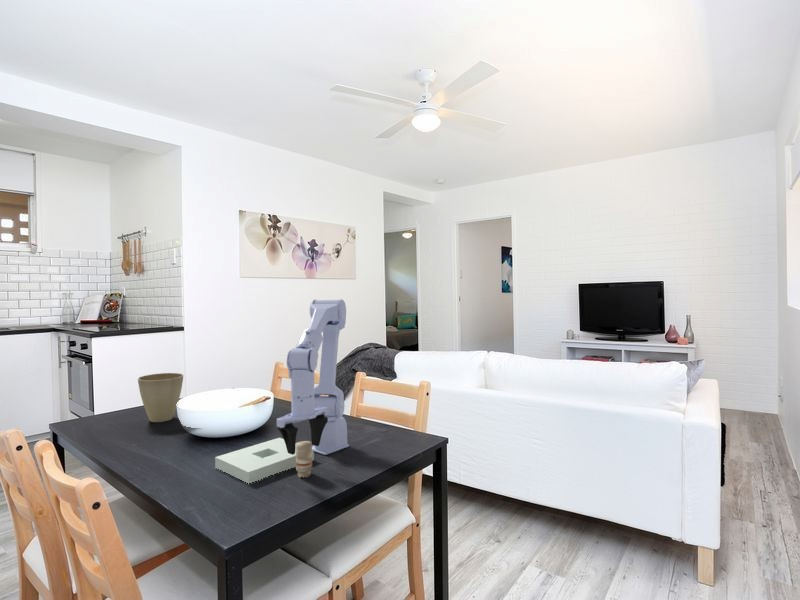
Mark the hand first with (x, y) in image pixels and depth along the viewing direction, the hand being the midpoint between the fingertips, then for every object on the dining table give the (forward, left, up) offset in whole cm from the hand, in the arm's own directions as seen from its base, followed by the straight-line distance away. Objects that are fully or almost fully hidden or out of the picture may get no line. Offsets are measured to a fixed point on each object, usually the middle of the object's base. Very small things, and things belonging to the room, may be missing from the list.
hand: (303, 449), depth 115 cm
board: (+2, -14, -7) cm, 16 cm away
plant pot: (+1, -82, -7) cm, 82 cm away
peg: (0, 0, -7) cm, 7 cm away
